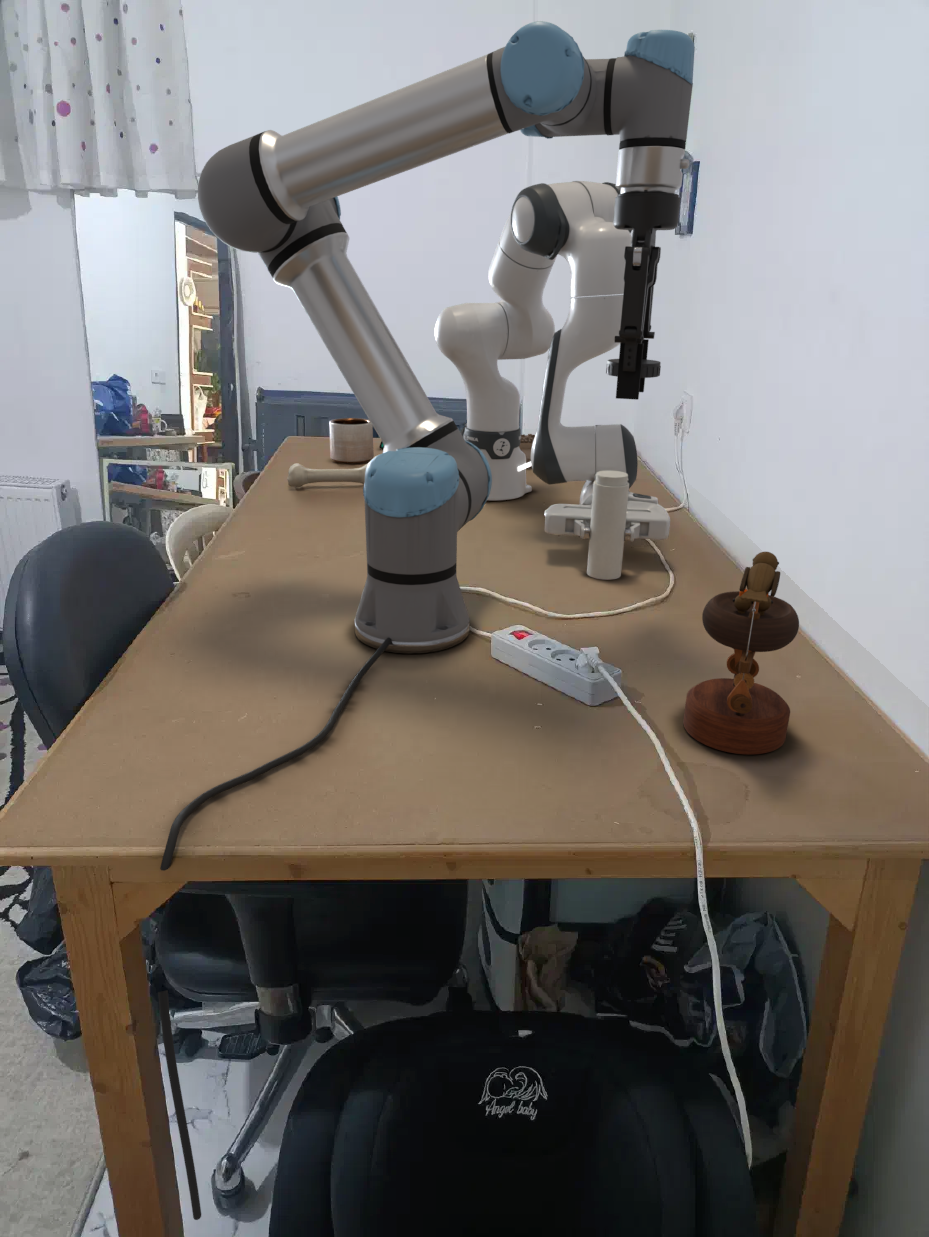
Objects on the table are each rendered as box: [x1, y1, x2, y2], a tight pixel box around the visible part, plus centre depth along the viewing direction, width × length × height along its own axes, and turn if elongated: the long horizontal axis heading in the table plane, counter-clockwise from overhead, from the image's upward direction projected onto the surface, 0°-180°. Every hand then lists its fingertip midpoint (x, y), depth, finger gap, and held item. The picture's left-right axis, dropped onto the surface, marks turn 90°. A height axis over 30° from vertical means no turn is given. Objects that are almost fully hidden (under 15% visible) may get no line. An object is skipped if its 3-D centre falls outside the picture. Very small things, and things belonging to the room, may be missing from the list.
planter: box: [328, 417, 375, 464], centre depth 212 cm, size 11×11×10 cm
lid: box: [605, 358, 662, 379], centre depth 106 cm, size 7×7×2 cm
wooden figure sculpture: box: [682, 551, 800, 755], centre depth 87 cm, size 15×11×20 cm
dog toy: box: [286, 462, 369, 488], centre depth 187 cm, size 20×6×5 cm, turn 99°
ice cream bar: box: [519, 433, 535, 463], centre depth 219 cm, size 21×28×4 cm
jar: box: [586, 471, 630, 581], centre depth 133 cm, size 5×5×16 cm
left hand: (630, 394), depth 107 cm, fingers closed on lid, 6 cm apart
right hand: (607, 535), depth 133 cm, fingers closed on jar, 5 cm apart
